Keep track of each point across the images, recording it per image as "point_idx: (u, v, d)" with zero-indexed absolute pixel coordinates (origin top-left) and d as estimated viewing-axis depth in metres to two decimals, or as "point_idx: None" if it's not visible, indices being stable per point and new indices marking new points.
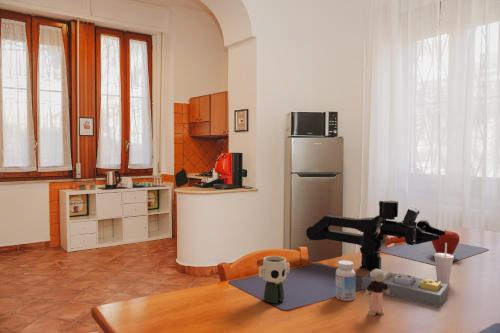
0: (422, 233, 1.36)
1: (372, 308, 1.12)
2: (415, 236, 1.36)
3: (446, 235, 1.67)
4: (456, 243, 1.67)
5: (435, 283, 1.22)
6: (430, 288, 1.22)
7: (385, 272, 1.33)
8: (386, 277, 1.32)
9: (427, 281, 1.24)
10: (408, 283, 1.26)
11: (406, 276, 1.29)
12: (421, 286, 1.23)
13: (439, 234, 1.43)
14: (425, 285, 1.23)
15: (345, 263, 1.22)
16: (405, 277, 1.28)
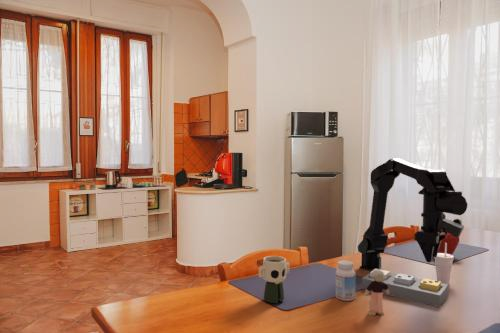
0: (431, 247, 1.19)
1: (372, 308, 1.12)
2: (426, 241, 1.18)
3: None
4: (456, 243, 1.67)
5: (435, 283, 1.22)
6: (430, 288, 1.22)
7: (385, 272, 1.33)
8: (386, 277, 1.32)
9: (427, 281, 1.24)
10: (408, 283, 1.26)
11: (406, 276, 1.29)
12: (421, 286, 1.23)
13: None
14: (425, 285, 1.23)
15: (345, 263, 1.22)
16: (405, 277, 1.28)
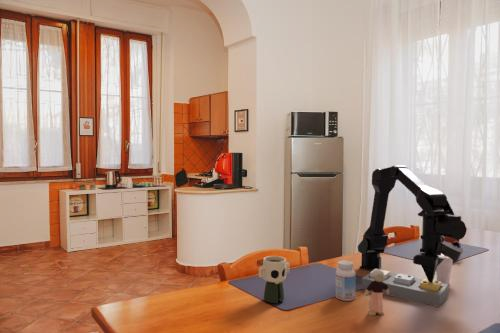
0: (432, 267, 1.22)
1: (372, 308, 1.12)
2: None
3: None
4: None
5: (435, 284, 1.22)
6: (430, 288, 1.22)
7: (385, 272, 1.33)
8: (386, 277, 1.32)
9: (427, 281, 1.24)
10: (408, 283, 1.26)
11: (406, 276, 1.29)
12: (421, 286, 1.23)
13: None
14: (425, 285, 1.23)
15: (345, 263, 1.22)
16: (405, 277, 1.28)
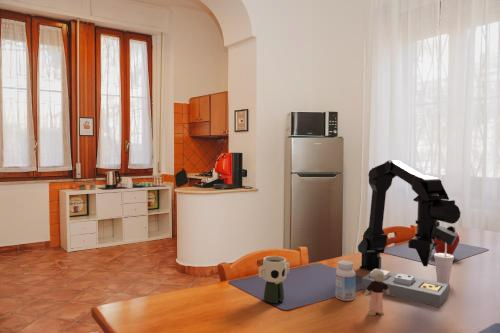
0: (427, 252, 1.23)
1: (372, 308, 1.12)
2: None
3: None
4: (456, 243, 1.67)
5: (435, 288, 1.22)
6: None
7: (385, 272, 1.33)
8: (386, 277, 1.32)
9: (427, 286, 1.24)
10: (408, 283, 1.26)
11: (406, 276, 1.29)
12: None
13: None
14: None
15: (345, 263, 1.22)
16: (405, 277, 1.28)
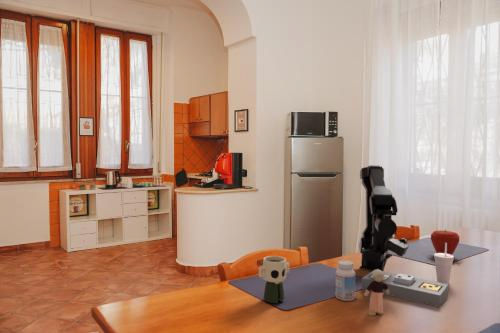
0: (381, 262, 1.32)
1: (372, 308, 1.12)
2: None
3: (446, 235, 1.67)
4: (456, 243, 1.67)
5: (435, 288, 1.22)
6: None
7: (385, 276, 1.33)
8: None
9: (427, 286, 1.24)
10: (408, 283, 1.26)
11: (406, 276, 1.29)
12: None
13: None
14: None
15: (345, 263, 1.22)
16: (405, 277, 1.28)
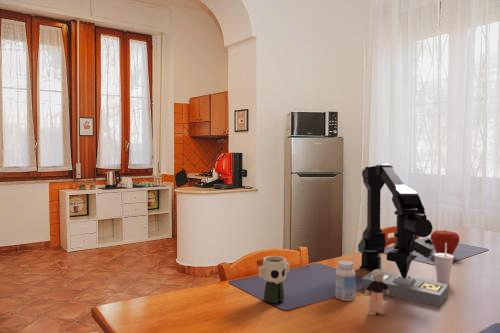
0: (406, 264, 1.27)
1: (372, 308, 1.12)
2: None
3: (446, 235, 1.67)
4: (456, 243, 1.67)
5: (435, 288, 1.22)
6: None
7: (385, 276, 1.33)
8: None
9: (427, 286, 1.24)
10: (408, 284, 1.26)
11: (406, 277, 1.29)
12: None
13: None
14: None
15: (345, 263, 1.22)
16: (405, 278, 1.28)
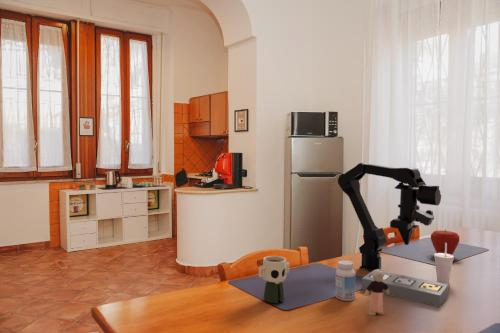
0: (408, 231, 1.42)
1: (372, 308, 1.12)
2: None
3: (446, 235, 1.67)
4: (456, 243, 1.67)
5: (435, 288, 1.22)
6: None
7: (385, 276, 1.33)
8: None
9: (427, 286, 1.24)
10: None
11: (406, 280, 1.29)
12: None
13: None
14: None
15: (345, 263, 1.22)
16: (405, 281, 1.28)
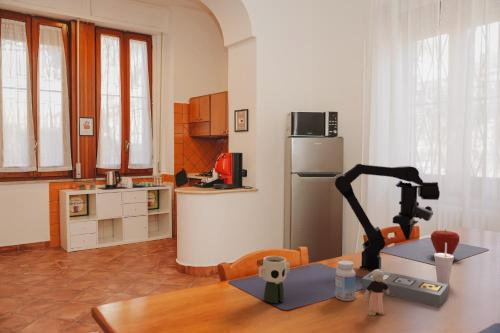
0: (409, 227, 1.49)
1: (372, 308, 1.12)
2: None
3: (446, 235, 1.67)
4: (456, 243, 1.67)
5: (435, 288, 1.22)
6: None
7: (385, 276, 1.33)
8: None
9: (427, 286, 1.24)
10: None
11: (406, 280, 1.29)
12: None
13: None
14: None
15: (345, 263, 1.22)
16: (405, 281, 1.28)
